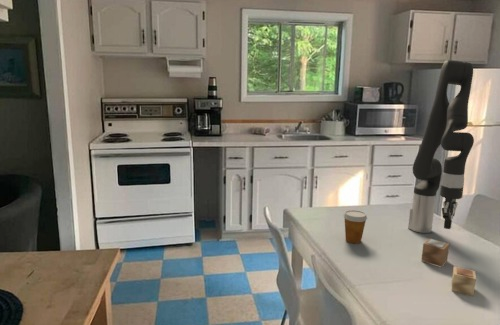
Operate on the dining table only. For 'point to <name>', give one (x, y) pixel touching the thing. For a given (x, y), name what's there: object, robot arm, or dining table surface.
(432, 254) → the walnut block
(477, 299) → the dining table surface
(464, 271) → the oak block
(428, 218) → the robot arm
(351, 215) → the disposable coffee cup
